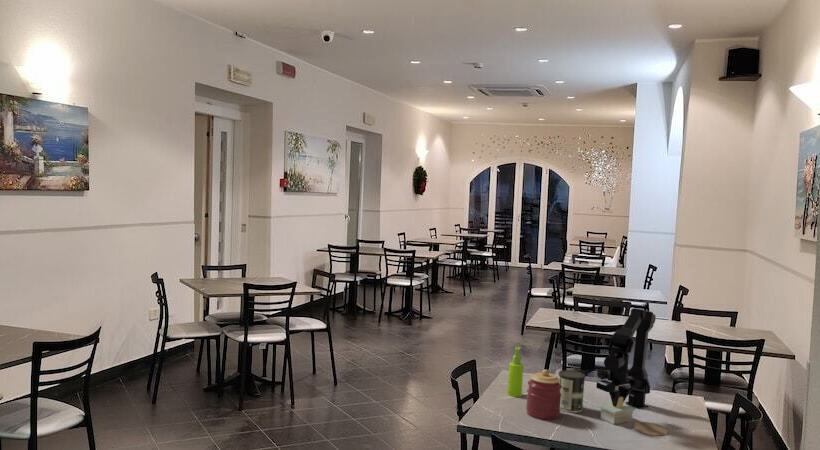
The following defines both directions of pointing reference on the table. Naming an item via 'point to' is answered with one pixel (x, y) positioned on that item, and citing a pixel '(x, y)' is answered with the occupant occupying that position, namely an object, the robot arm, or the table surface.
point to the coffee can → (571, 391)
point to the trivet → (650, 428)
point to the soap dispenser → (515, 375)
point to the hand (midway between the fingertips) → (617, 405)
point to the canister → (544, 395)
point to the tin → (616, 417)
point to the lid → (617, 407)
